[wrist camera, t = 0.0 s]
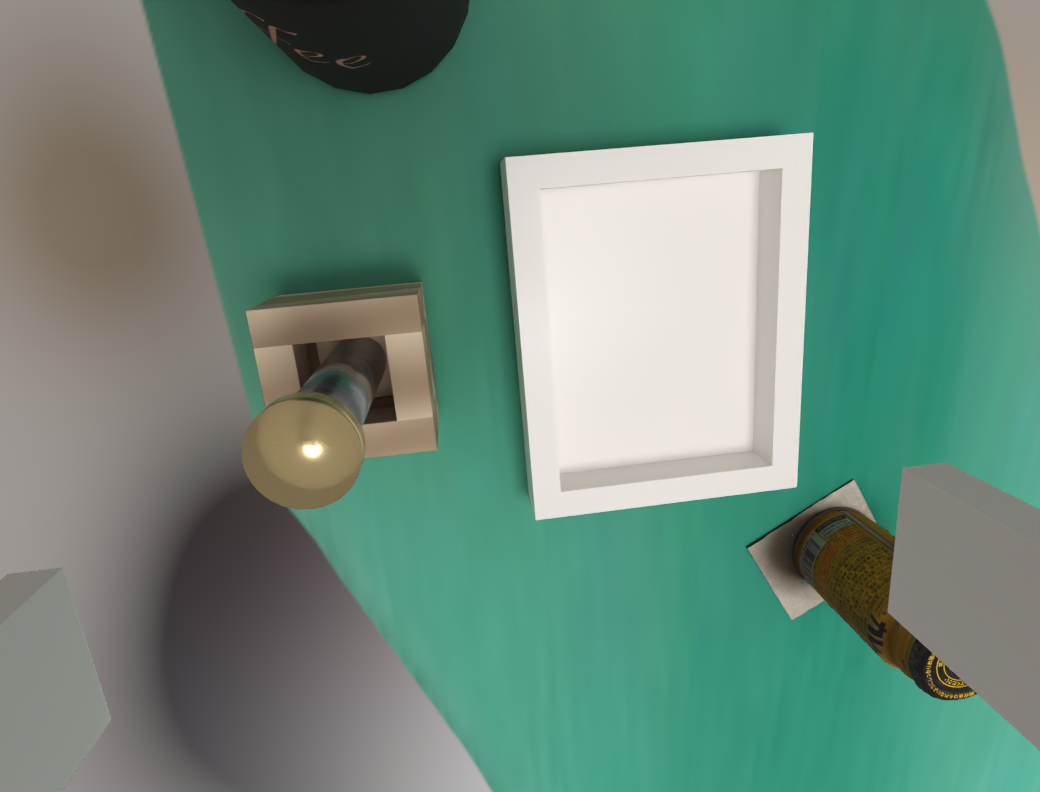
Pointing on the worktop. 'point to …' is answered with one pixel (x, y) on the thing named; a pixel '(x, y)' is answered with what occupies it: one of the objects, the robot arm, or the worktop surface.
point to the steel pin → (316, 430)
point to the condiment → (850, 582)
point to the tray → (659, 319)
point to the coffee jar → (361, 37)
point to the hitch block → (347, 315)
